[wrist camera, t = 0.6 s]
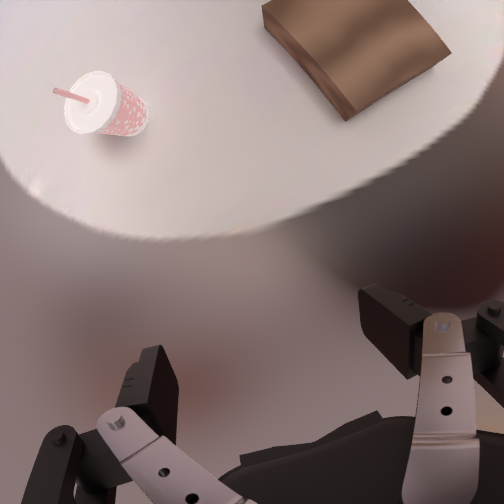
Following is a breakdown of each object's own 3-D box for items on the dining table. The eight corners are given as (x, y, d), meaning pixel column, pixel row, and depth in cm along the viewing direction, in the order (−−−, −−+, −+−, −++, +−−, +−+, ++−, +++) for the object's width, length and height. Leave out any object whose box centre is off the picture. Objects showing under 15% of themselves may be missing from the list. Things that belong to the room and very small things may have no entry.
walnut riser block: (264, 27, 28) (261, 5, 23) (356, -18, 25) (364, -40, 20) (345, 121, 29) (356, 111, 25) (432, 66, 27) (451, 53, 22)
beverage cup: (100, 127, 32) (19, 110, 18) (129, 84, 30) (56, 45, 17) (135, 153, 32) (56, 142, 19) (166, 107, 31) (100, 69, 17)
